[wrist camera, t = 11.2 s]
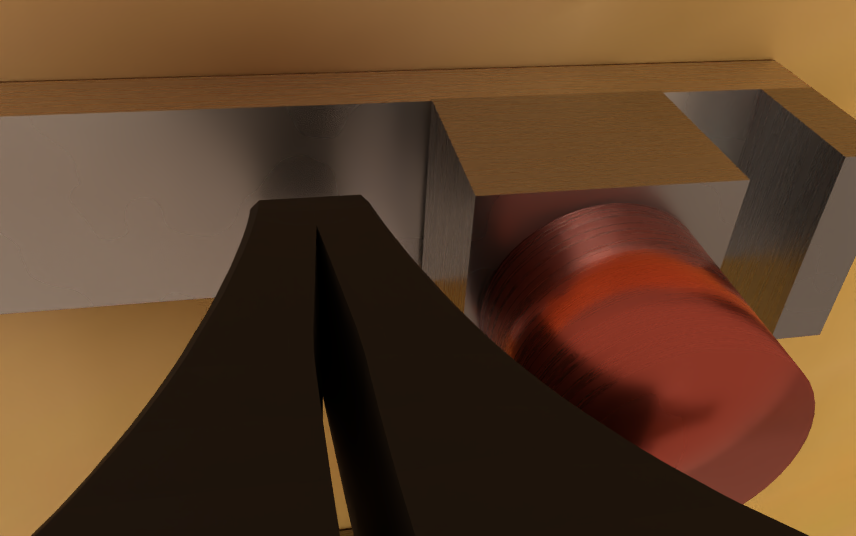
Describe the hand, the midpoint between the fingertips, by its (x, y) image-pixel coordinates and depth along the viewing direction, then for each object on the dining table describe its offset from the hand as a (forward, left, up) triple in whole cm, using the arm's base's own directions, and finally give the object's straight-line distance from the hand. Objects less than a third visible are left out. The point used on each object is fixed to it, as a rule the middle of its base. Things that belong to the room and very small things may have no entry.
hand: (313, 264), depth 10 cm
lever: (0, -3, -1) cm, 4 cm away
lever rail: (0, -1, -2) cm, 2 cm away
